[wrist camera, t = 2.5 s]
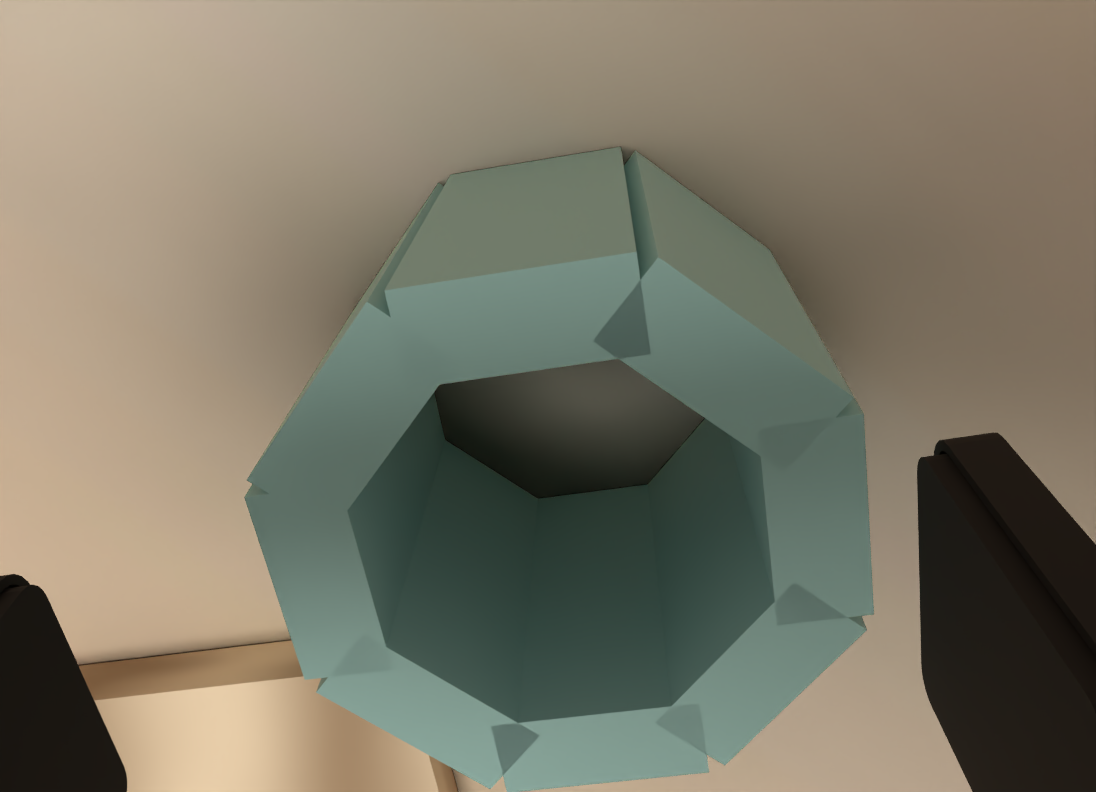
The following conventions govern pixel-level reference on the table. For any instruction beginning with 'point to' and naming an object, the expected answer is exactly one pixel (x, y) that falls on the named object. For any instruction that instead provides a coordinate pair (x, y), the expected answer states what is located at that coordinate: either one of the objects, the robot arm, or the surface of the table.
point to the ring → (578, 519)
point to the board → (247, 728)
